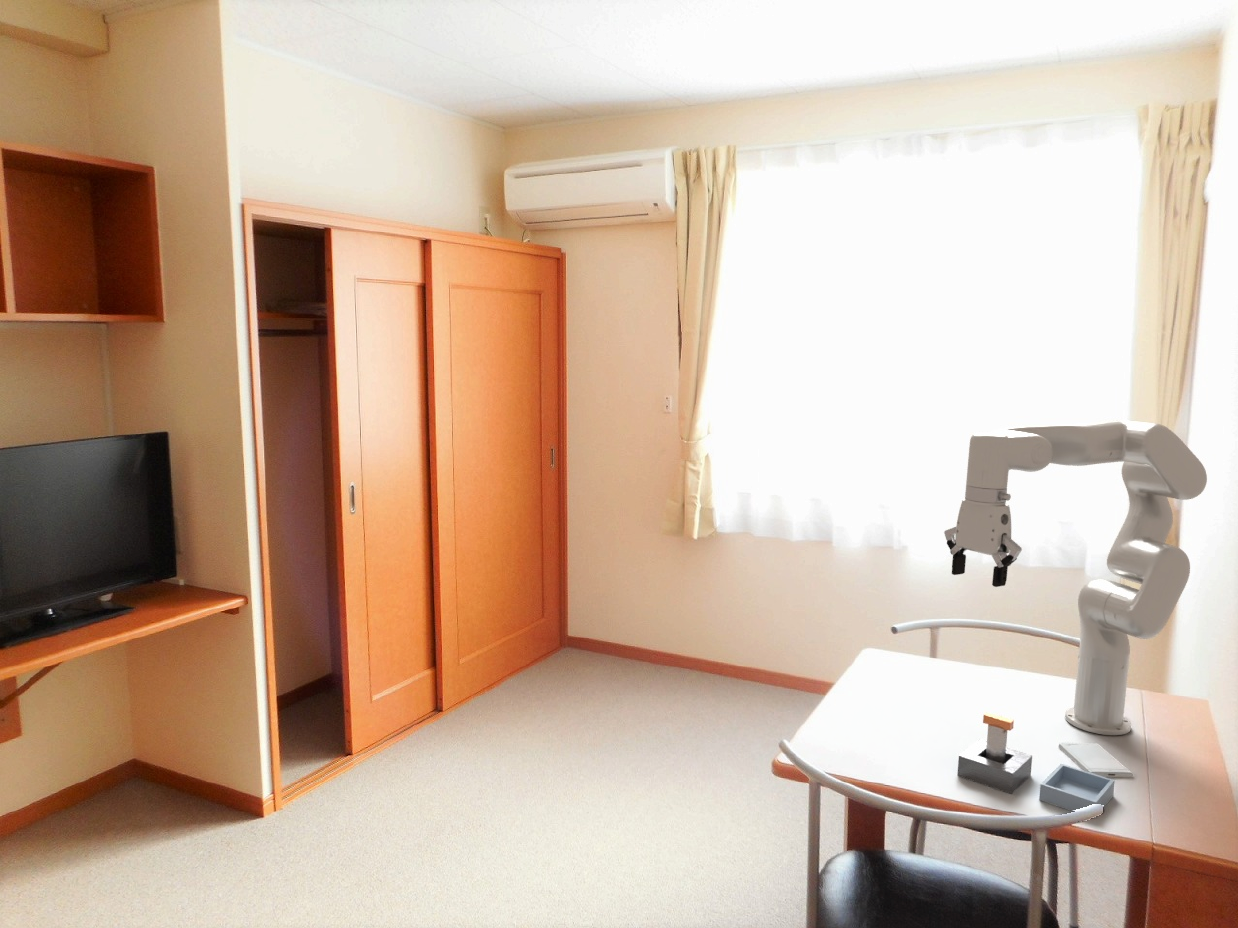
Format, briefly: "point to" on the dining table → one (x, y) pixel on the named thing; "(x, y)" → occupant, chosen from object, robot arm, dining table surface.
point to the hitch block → (994, 767)
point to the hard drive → (1095, 759)
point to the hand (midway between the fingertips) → (977, 579)
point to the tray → (1075, 788)
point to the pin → (997, 736)
